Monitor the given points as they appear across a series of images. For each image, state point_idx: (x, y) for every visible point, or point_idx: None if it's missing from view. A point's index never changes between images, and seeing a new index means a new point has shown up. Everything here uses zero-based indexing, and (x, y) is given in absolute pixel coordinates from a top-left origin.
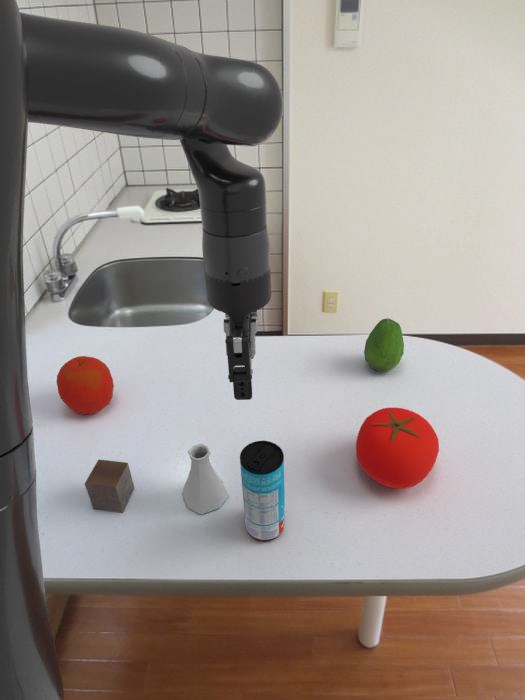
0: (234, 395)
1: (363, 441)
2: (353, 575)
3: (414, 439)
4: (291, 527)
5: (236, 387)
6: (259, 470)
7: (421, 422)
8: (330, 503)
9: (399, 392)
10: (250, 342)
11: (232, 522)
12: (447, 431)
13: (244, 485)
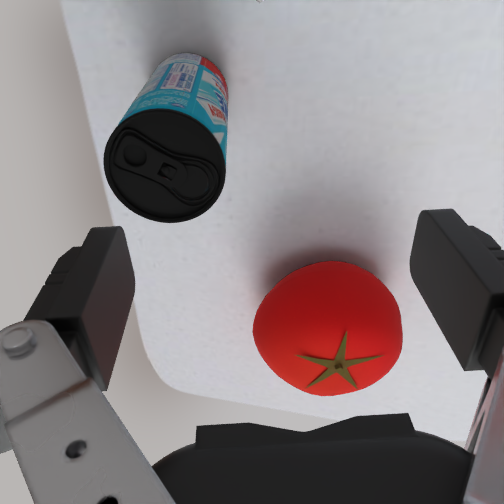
0: (87, 236)
1: (320, 304)
2: None
3: (303, 380)
4: None
5: (38, 297)
6: (115, 167)
7: (345, 390)
8: (249, 205)
9: None
10: (450, 327)
11: (192, 18)
12: None
13: (137, 99)
